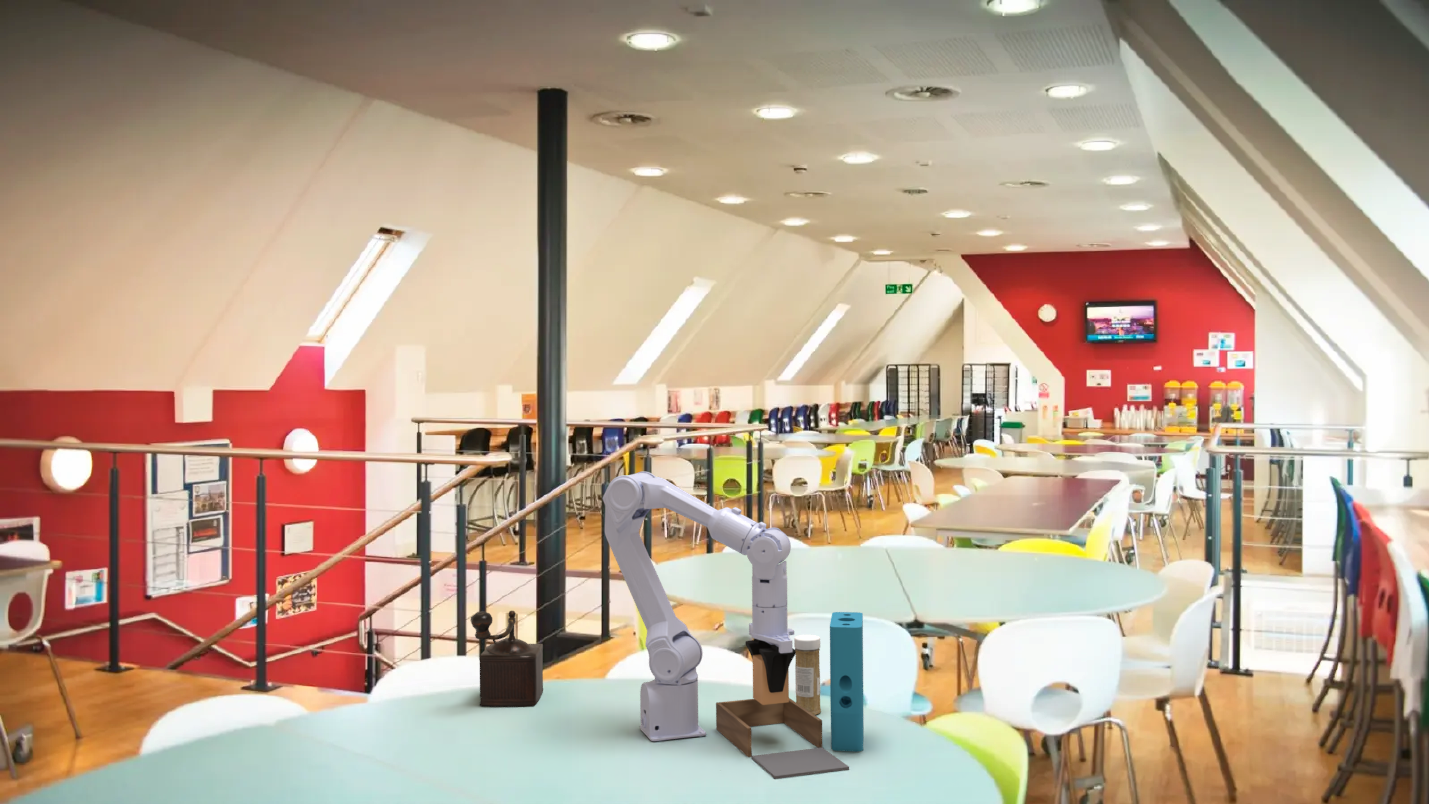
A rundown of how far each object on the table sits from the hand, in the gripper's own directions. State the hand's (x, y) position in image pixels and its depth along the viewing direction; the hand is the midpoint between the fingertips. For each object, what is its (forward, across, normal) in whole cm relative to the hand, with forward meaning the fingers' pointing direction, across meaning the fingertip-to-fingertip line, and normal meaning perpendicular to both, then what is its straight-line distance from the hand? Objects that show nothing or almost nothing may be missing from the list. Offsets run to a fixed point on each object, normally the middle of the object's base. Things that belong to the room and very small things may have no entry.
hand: (770, 687), depth 190 cm
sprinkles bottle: (+9, +13, -12) cm, 20 cm away
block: (+9, -5, -11) cm, 15 cm away
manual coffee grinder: (+9, +38, +37) cm, 54 cm away
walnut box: (+9, +1, 0) cm, 9 cm away
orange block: (+2, 0, 0) cm, 2 cm away
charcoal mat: (+9, -12, 0) cm, 15 cm away
